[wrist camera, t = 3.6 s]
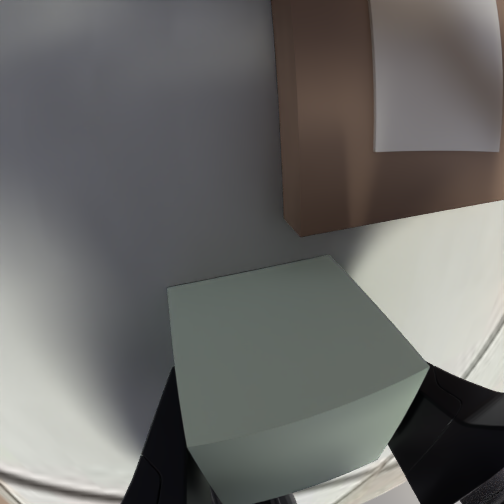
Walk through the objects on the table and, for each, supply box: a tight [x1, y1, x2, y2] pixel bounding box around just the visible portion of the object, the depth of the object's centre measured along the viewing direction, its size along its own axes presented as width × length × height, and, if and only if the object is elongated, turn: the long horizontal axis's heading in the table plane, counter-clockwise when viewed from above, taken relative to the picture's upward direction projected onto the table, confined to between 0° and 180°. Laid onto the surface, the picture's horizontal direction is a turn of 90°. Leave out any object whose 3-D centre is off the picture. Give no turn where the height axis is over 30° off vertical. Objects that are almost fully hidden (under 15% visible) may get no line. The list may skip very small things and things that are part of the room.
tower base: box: [271, 0, 504, 237], centre depth 7 cm, size 10×10×1 cm
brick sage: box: [167, 255, 430, 504], centre depth 8 cm, size 5×5×5 cm
